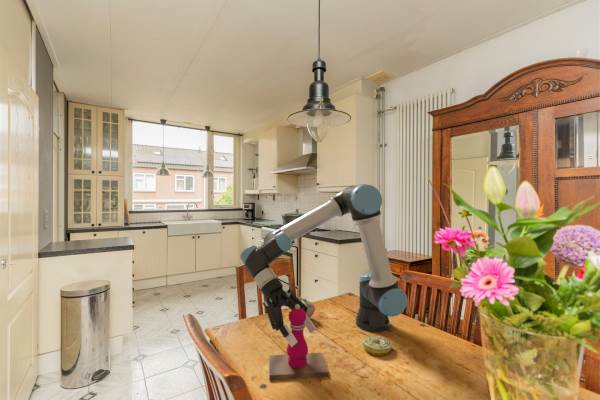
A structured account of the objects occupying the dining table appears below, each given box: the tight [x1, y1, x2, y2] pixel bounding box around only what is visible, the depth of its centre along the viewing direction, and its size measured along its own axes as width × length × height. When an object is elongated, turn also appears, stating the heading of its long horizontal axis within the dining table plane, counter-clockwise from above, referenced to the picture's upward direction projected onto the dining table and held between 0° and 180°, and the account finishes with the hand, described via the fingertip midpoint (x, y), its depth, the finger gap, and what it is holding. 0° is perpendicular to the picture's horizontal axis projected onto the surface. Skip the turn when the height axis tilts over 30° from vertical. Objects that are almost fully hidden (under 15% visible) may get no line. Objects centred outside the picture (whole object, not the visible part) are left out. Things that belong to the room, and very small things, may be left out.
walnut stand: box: [268, 352, 330, 381], centre depth 99 cm, size 19×12×2 cm, turn 96°
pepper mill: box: [286, 304, 309, 368], centre depth 99 cm, size 7×7×20 cm
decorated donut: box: [362, 335, 393, 357], centre depth 112 cm, size 10×11×4 cm
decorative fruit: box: [300, 297, 316, 319], centre depth 140 cm, size 9×8×10 cm
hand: (304, 337), depth 98 cm, fingers open, 11 cm apart
